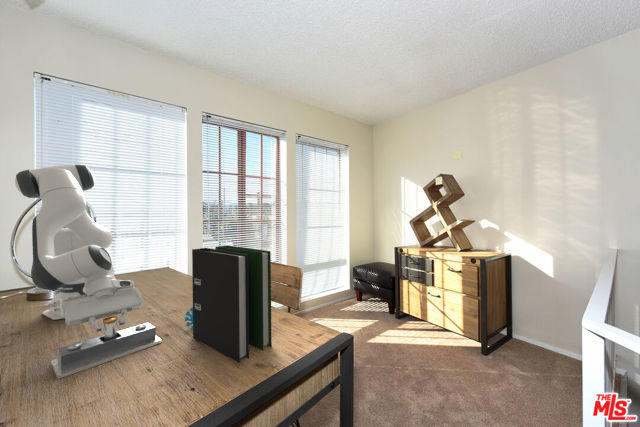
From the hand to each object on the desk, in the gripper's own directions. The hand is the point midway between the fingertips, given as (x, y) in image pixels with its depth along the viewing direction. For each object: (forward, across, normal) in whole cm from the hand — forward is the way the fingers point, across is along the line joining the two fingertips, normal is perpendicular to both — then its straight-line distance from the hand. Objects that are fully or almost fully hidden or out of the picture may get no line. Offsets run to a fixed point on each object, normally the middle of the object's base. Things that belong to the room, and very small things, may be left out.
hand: (110, 327), depth 86 cm
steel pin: (+5, 0, +6) cm, 7 cm away
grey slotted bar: (+6, 0, +6) cm, 8 cm away
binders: (+23, +28, -11) cm, 38 cm away
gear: (+8, +28, +4) cm, 29 cm away
